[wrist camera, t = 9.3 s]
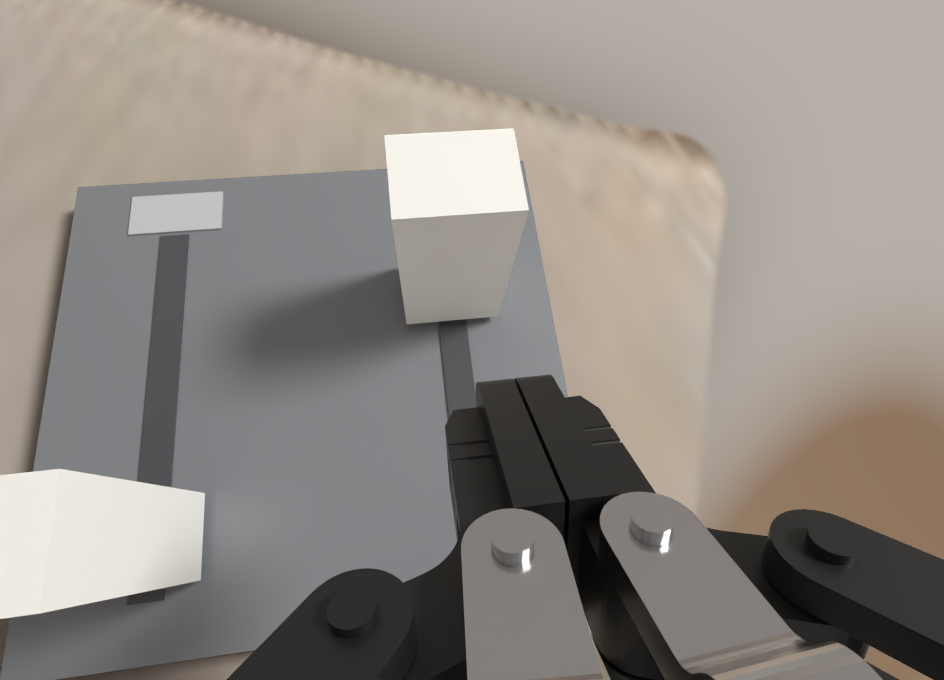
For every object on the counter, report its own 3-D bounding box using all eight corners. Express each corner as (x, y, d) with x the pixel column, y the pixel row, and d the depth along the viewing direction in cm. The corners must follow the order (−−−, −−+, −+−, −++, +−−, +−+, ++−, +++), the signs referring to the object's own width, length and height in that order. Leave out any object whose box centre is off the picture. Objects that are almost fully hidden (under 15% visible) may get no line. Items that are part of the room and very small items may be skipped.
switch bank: (31, 676, 19) (-5, 689, 17) (97, 206, 25) (76, 185, 24) (594, 593, 21) (607, 598, 19) (518, 179, 28) (523, 159, 26)
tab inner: (80, 596, 18) (-173, 642, 11) (91, 506, 19) (-133, 489, 12) (200, 580, 18) (39, 613, 11) (205, 492, 19) (59, 468, 12)
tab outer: (406, 324, 22) (391, 219, 15) (401, 262, 23) (384, 135, 16) (498, 316, 23) (529, 210, 15) (489, 255, 24) (513, 128, 16)
